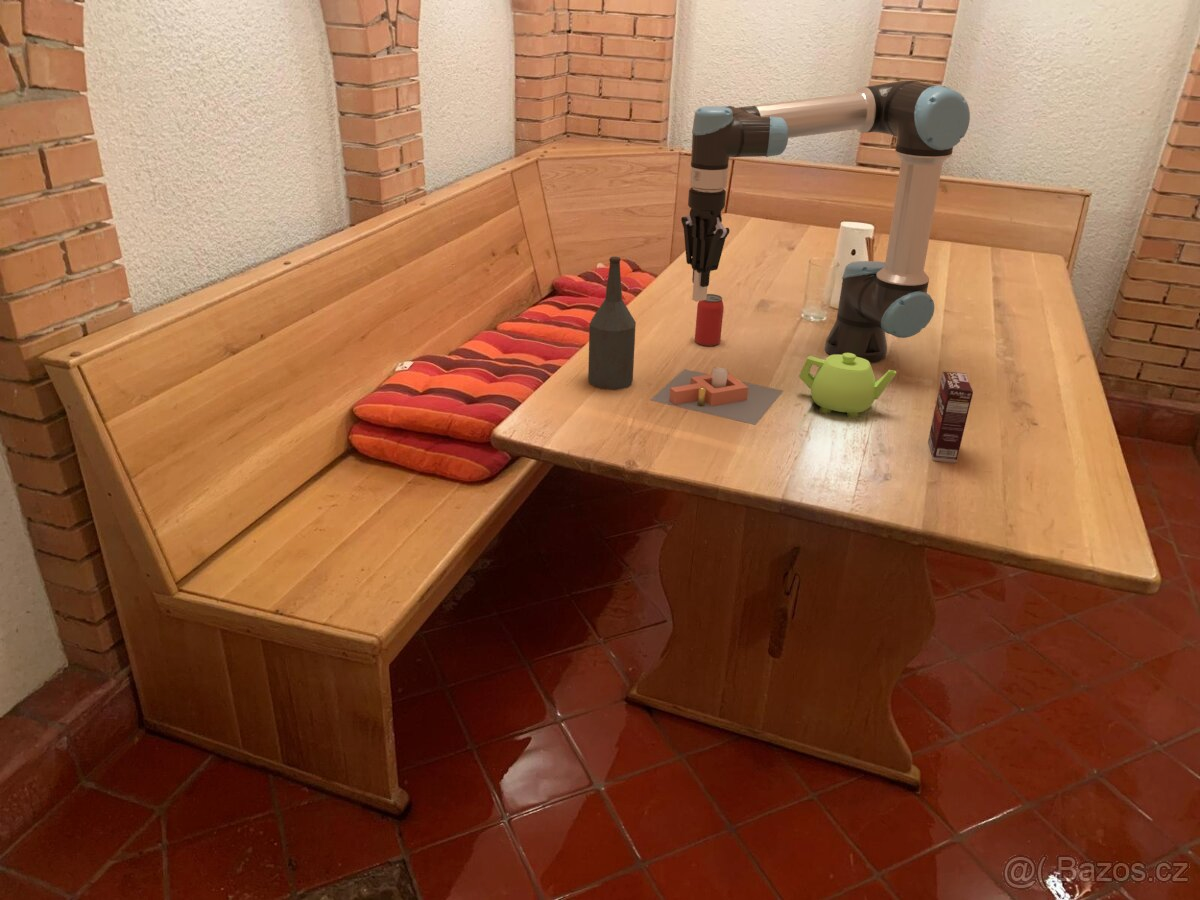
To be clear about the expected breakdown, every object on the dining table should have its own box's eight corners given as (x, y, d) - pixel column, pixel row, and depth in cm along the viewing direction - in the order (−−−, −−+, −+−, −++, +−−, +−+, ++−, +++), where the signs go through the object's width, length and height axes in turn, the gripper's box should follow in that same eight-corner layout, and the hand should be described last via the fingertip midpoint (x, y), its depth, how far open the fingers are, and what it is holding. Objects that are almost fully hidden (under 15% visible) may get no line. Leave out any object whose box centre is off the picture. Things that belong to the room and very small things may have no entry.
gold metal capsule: (705, 404, 196) (707, 387, 195) (703, 407, 195) (704, 390, 193) (698, 402, 197) (700, 385, 195) (696, 405, 196) (697, 388, 194)
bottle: (600, 398, 201) (604, 266, 187) (580, 382, 209) (583, 253, 195) (640, 391, 205) (647, 260, 191) (619, 375, 213) (625, 249, 199)
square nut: (725, 383, 207) (726, 371, 205) (746, 399, 199) (748, 387, 198) (662, 394, 200) (662, 381, 199) (682, 411, 193) (683, 398, 192)
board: (782, 396, 205) (786, 365, 201) (754, 431, 189) (758, 398, 185) (684, 374, 214) (686, 345, 211) (649, 406, 198) (651, 374, 195)
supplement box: (926, 441, 187) (942, 370, 180) (950, 444, 186) (967, 373, 179) (931, 461, 180) (948, 387, 172) (957, 464, 179) (975, 390, 171)
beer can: (719, 348, 230) (723, 302, 225) (693, 345, 231) (696, 300, 226) (721, 338, 236) (725, 294, 230) (695, 336, 237) (699, 292, 231)
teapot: (889, 403, 203) (900, 350, 198) (885, 428, 192) (896, 373, 186) (800, 389, 209) (807, 337, 203) (791, 412, 198) (798, 358, 192)
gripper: (673, 184, 187) (666, 294, 198) (714, 196, 178) (705, 311, 189) (701, 180, 191) (693, 288, 202) (743, 192, 182) (732, 305, 193)
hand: (699, 299), depth 196 cm, fingers closed
